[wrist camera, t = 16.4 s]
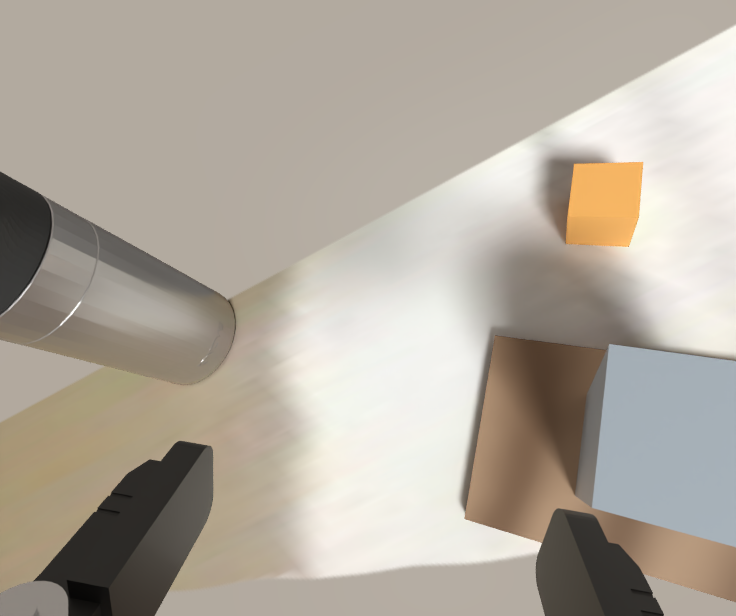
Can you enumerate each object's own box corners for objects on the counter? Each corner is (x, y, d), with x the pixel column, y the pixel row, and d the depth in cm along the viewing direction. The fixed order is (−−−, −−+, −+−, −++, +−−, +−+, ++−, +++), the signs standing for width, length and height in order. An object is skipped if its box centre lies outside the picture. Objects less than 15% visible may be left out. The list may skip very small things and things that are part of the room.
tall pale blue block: (574, 495, 26) (592, 507, 16) (586, 394, 28) (609, 343, 17) (699, 528, 24) (818, 569, 13) (704, 415, 25) (814, 371, 15)
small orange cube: (565, 244, 32) (567, 216, 29) (571, 196, 33) (574, 163, 30) (628, 247, 31) (638, 217, 27) (632, 196, 32) (642, 162, 28)
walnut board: (466, 517, 29) (464, 518, 28) (496, 339, 32) (494, 335, 31) (843, 632, 21) (855, 639, 20) (833, 384, 24) (843, 381, 23)
